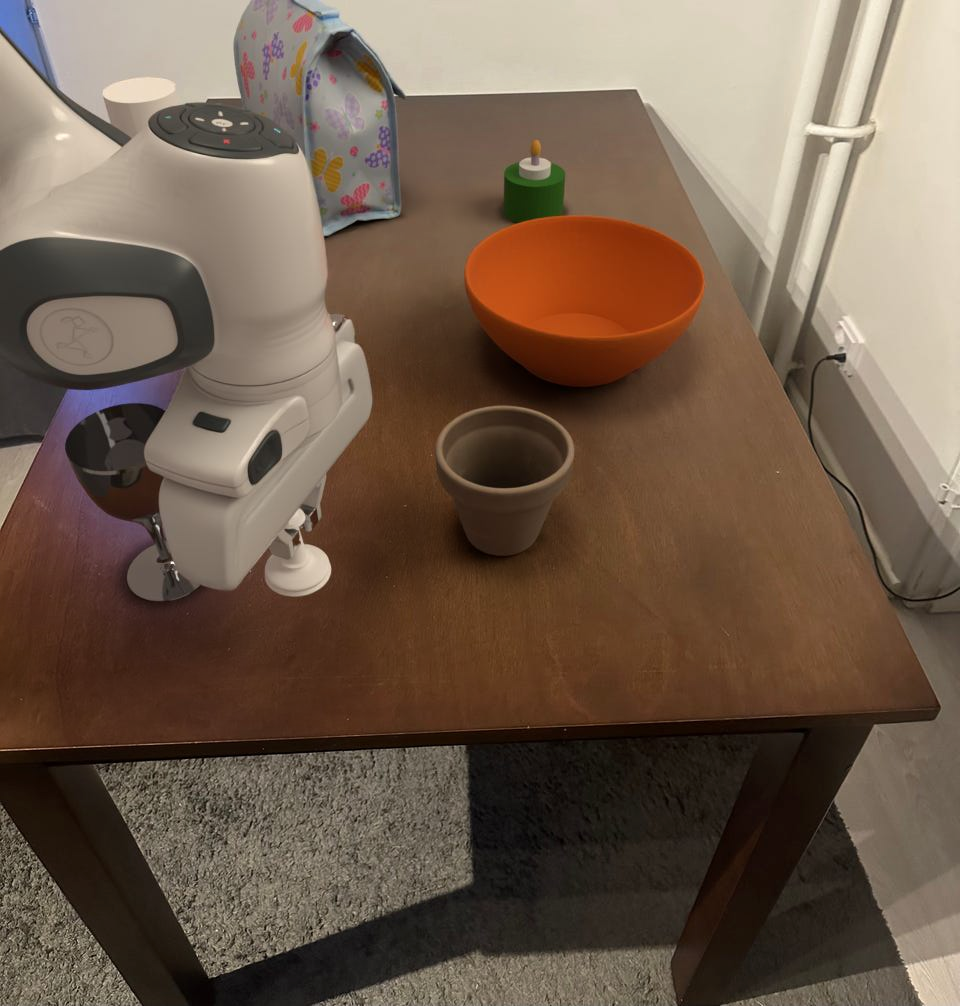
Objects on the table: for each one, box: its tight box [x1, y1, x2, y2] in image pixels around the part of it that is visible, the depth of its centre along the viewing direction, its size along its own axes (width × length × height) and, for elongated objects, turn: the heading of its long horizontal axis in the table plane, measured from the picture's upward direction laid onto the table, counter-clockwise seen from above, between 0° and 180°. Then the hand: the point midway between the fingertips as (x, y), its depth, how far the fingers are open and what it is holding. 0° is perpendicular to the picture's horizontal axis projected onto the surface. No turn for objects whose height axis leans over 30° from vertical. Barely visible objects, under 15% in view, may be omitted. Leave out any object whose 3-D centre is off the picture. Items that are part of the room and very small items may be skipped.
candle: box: [503, 139, 566, 224], centre depth 121 cm, size 8×8×10 cm
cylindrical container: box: [101, 76, 181, 138], centre depth 98 cm, size 7×7×25 cm
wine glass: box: [64, 402, 202, 603], centre depth 71 cm, size 8×8×15 cm
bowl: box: [463, 214, 706, 388], centre depth 97 cm, size 25×25×10 cm
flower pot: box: [434, 405, 576, 557], centre depth 77 cm, size 12×11×10 cm
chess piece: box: [264, 509, 332, 598], centre depth 64 cm, size 5×5×10 cm
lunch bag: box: [232, 0, 407, 237], centre depth 118 cm, size 22×17×26 cm
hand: (296, 537), depth 65 cm, fingers closed on chess piece
